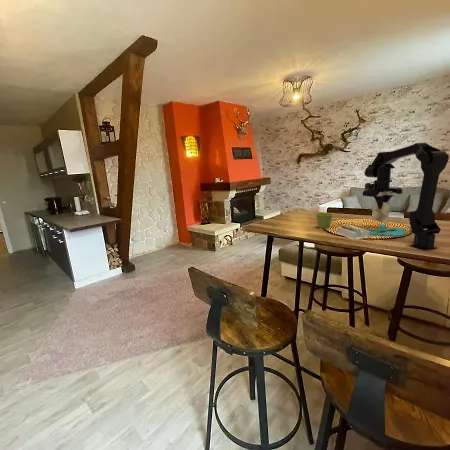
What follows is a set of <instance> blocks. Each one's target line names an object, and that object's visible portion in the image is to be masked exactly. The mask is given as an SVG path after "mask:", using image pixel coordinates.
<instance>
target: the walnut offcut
mask: <svg viewBox="0 0 450 450" xmlns="http://www.w3.org/2000/svg"><path fill="white" fill-rule="evenodd" d="M347 226H348V225H341V226H340V228H343V229H346V230H349V231H351V228H350V227H349V226H348V227H347Z"/></svg>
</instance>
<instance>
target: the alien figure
mask: <svg viewBox="0 0 450 450" xmlns="http://www.w3.org/2000/svg"><path fill="white" fill-rule="evenodd" d="M378 226H379V228H374V229H373V228H361V229H364V230H367V231H370V236H379V237H382V236H385V237H388V238H389V237H394V238H398V237H404V236H405V237H406V236H407V232H406V230H405V228H400V227H391V228H390V227H389V228H387V224H385V223H384V224H383V223H381V224H379V225H378Z"/></svg>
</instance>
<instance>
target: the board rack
mask: <svg viewBox="0 0 450 450" xmlns="http://www.w3.org/2000/svg"><path fill="white" fill-rule="evenodd" d="M346 226H347V227H355V228H358V229H360V237H356V233H355V232H352V231H349V230H346V229H343V228H341V226H340V227H339V226H336V232H334V233H336V234H339V235H341V236H343V237H346V238H349V239H351V240H360V239H367V238H370V236H371V235H370V231H367V230H364V229H365V228H364V229H362V228H361V227H357V226H355V225H352V224H351V225H349V226H348V225H346Z"/></svg>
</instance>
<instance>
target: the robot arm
mask: <svg viewBox="0 0 450 450" xmlns="http://www.w3.org/2000/svg"><path fill="white" fill-rule="evenodd" d="M414 155H415V158H416V159H417V160H418V161H420V169H421V171H422V173H423V179H422V182H421V183H422V184H421V187H420V193H419V199H418V203H417V208H416V210H413V211H410V213H409V219H408V221H409V225H410V229H411V233H412V234H414V237H413V243H412V244H410V246H411V247H414V248H417V249H420V250H423V251H428V250H435V249H437V246H435V241H436V234H440V232H441V230H442V229H441V228H440V226H439V224H438V223H437V222H436V215H435V212H434V210H433V208H434V202H435V197H436V194H437V188H438V183H439V180H440V179H439V178H440V175H441V173H442V172H444V170H445V168H446V167H447V164H448V162H449V158H450V155H449V154H448V153H447V152H446V151H444V150H441V149H439V148H436V147H434V146H432V145H430V144H429V143H427V142H415V143H413V144H411V145H408V146H404V147H402V148H399V149H395V150H392V151H390V150H389V151H379V152H378V153H377V154H376V156H375V158H374V159H373V161H372V162H371V163H369V164H367V165H368V166H367V167H366V168H365V169H364V172H363V173H364V176H365V177H366V178H374V179H375V178H376V179H375V180H373V181H374V182H373V183H371V182H366V183H365V184H364V190H363V191H362V196H363V197H372V198H374V201H376V202H377V205H378V208H379V209H381V207H382V204H383V202H386V203H389V201H390V200H391V199H392V198H393V197H394V195H393V194H396V195H400V194H401V195H402V194H403V189H402V187H391V183H392V182H393V179H391V175H392V170H393V169H395V168H396V167H395V166H394V165H393V163H395V162H397V160H400V159H403V158H405V157H409V156H414Z"/></svg>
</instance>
